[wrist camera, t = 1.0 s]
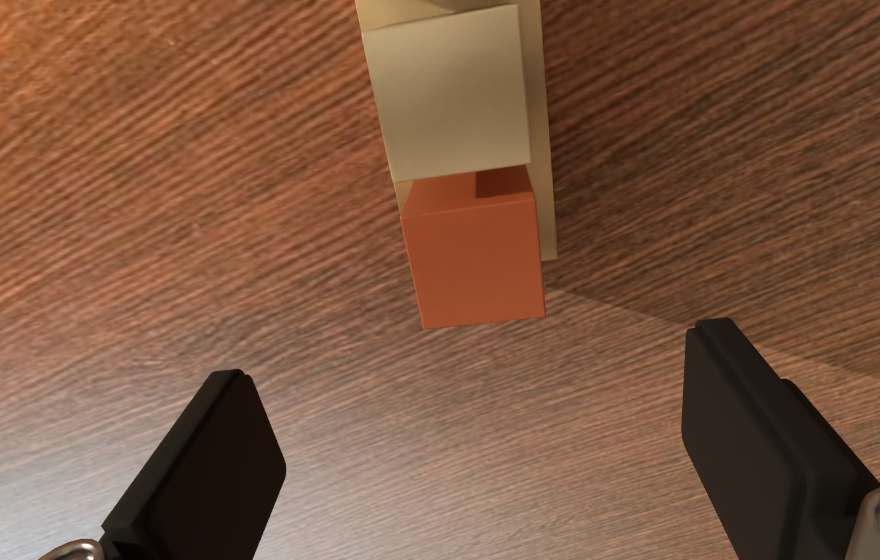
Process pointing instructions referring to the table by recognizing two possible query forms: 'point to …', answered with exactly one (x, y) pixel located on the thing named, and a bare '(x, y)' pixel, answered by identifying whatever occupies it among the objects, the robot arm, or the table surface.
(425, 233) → the terracotta cube
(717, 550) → the table surface
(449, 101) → the word board
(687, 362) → the robot arm
